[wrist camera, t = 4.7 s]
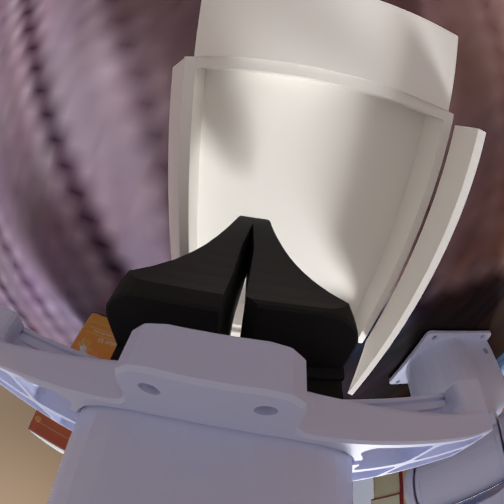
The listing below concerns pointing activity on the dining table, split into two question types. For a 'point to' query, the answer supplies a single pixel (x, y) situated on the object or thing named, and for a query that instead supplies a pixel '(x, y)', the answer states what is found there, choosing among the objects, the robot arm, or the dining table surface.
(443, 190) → the flap
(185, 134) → the flap
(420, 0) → the dining table surface
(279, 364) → the robot arm
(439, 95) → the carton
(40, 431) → the small box
